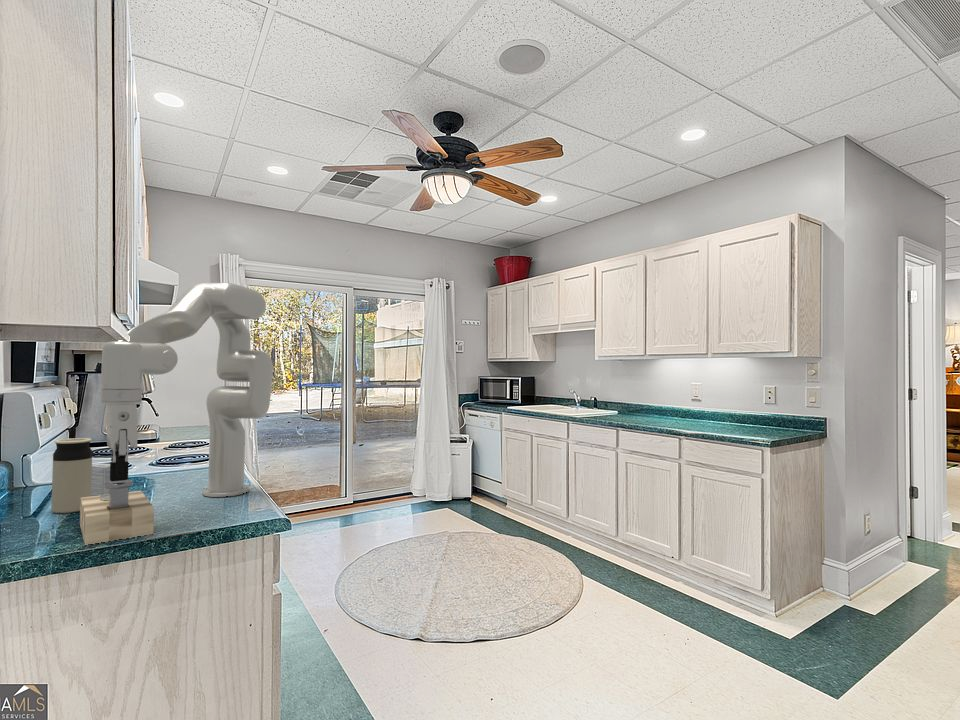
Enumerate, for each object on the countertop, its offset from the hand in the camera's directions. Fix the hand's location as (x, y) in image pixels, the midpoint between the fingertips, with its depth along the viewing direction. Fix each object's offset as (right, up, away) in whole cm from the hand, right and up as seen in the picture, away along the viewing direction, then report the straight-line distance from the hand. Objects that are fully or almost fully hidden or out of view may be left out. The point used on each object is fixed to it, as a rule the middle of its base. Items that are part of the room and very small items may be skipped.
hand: (118, 480), depth 114 cm
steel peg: (-7, -12, +7) cm, 16 cm away
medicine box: (-30, -13, +35) cm, 48 cm away
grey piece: (0, -7, 0) cm, 7 cm away
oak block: (-3, -12, +4) cm, 13 cm away
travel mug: (-26, -12, +19) cm, 34 cm away
